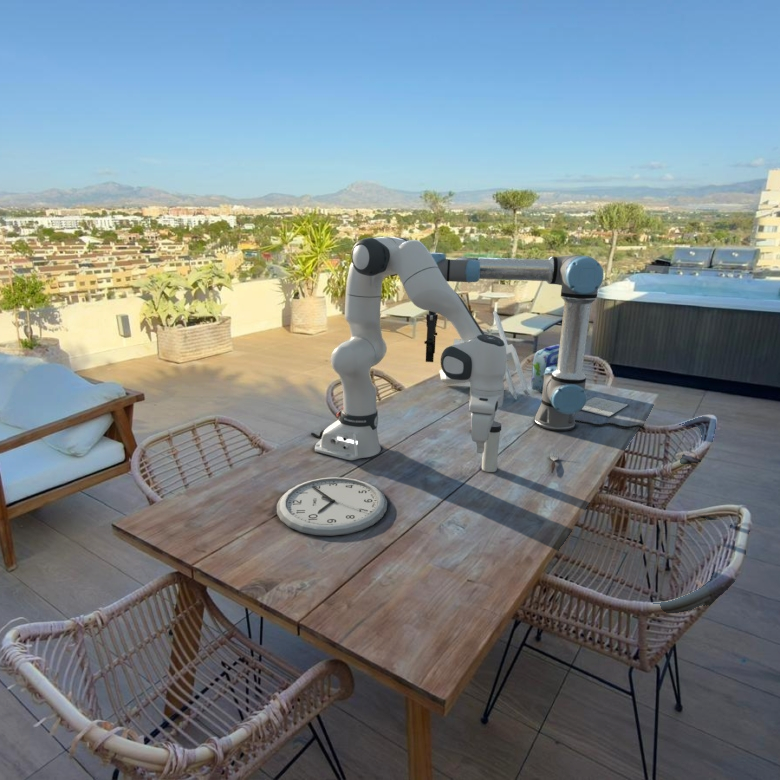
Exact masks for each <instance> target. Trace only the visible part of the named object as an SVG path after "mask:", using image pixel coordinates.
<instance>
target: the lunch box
mask: <svg viewBox="0 0 780 780" xmlns="http://www.w3.org/2000/svg"><path fill="white" fill-rule="evenodd" d="M559 346H560V344H554V345H550V346H547V347H544V348H542V349H541V348H540V349H539V350H537V351H536V352H535V353H534V356H533V360H532V367H531V368H532V369H531V382H530V383H531V386H530V387H531V389H532V390H533V391H537V392H541V393H542V392H543V382H544V373H545V369H546V368H547V367H553V366H557V364H558V355H559Z"/></svg>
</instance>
